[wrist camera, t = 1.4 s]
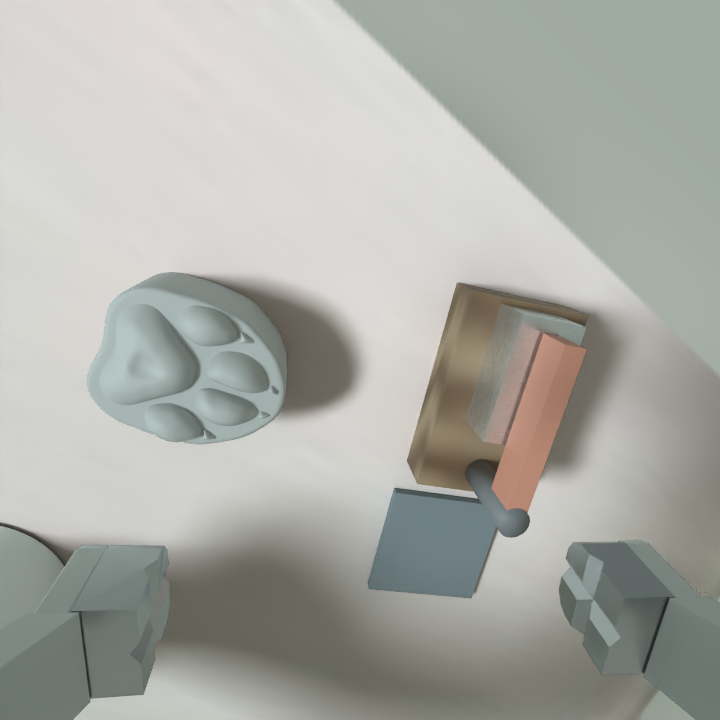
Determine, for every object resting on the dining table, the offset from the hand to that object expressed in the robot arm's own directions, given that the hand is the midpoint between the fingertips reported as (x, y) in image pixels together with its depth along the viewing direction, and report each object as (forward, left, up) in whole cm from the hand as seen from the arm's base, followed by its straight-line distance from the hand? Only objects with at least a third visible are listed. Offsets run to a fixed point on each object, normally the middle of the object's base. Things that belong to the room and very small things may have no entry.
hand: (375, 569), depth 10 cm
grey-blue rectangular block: (-2, -17, -28) cm, 33 cm away
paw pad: (-6, +7, -33) cm, 34 cm away
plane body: (-5, -17, -32) cm, 37 cm away
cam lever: (-5, -17, -28) cm, 33 cm away
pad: (-22, -17, -32) cm, 43 cm away
